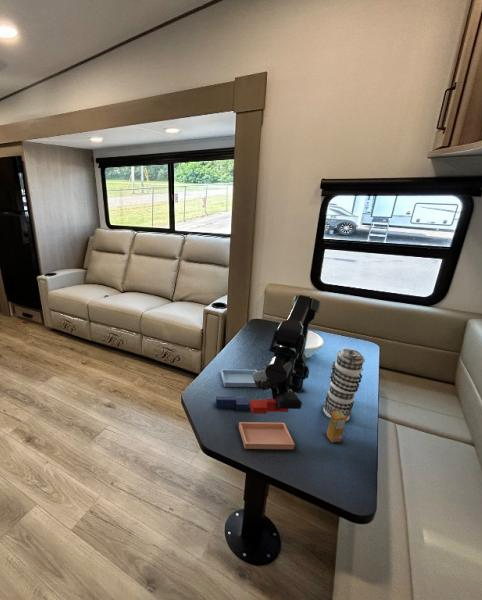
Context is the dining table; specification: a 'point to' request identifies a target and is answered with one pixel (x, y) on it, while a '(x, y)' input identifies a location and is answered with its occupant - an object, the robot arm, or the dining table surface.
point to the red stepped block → (264, 406)
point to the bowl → (312, 343)
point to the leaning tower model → (344, 382)
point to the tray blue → (238, 378)
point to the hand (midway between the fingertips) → (276, 407)
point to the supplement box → (336, 426)
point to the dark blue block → (232, 402)
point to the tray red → (265, 435)
